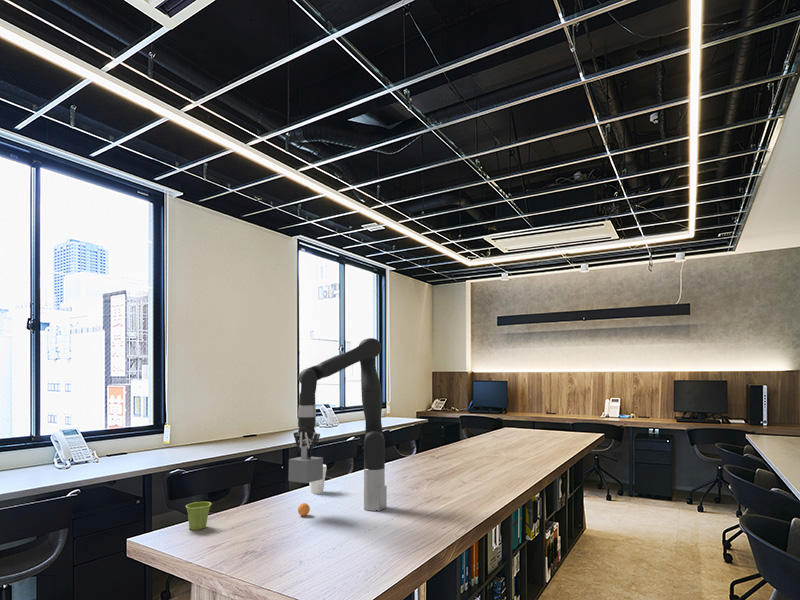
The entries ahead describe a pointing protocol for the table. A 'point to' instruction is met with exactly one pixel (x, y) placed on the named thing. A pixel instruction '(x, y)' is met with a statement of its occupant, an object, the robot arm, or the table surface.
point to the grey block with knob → (305, 468)
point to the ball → (303, 509)
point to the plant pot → (198, 514)
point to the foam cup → (318, 483)
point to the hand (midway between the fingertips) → (306, 456)
